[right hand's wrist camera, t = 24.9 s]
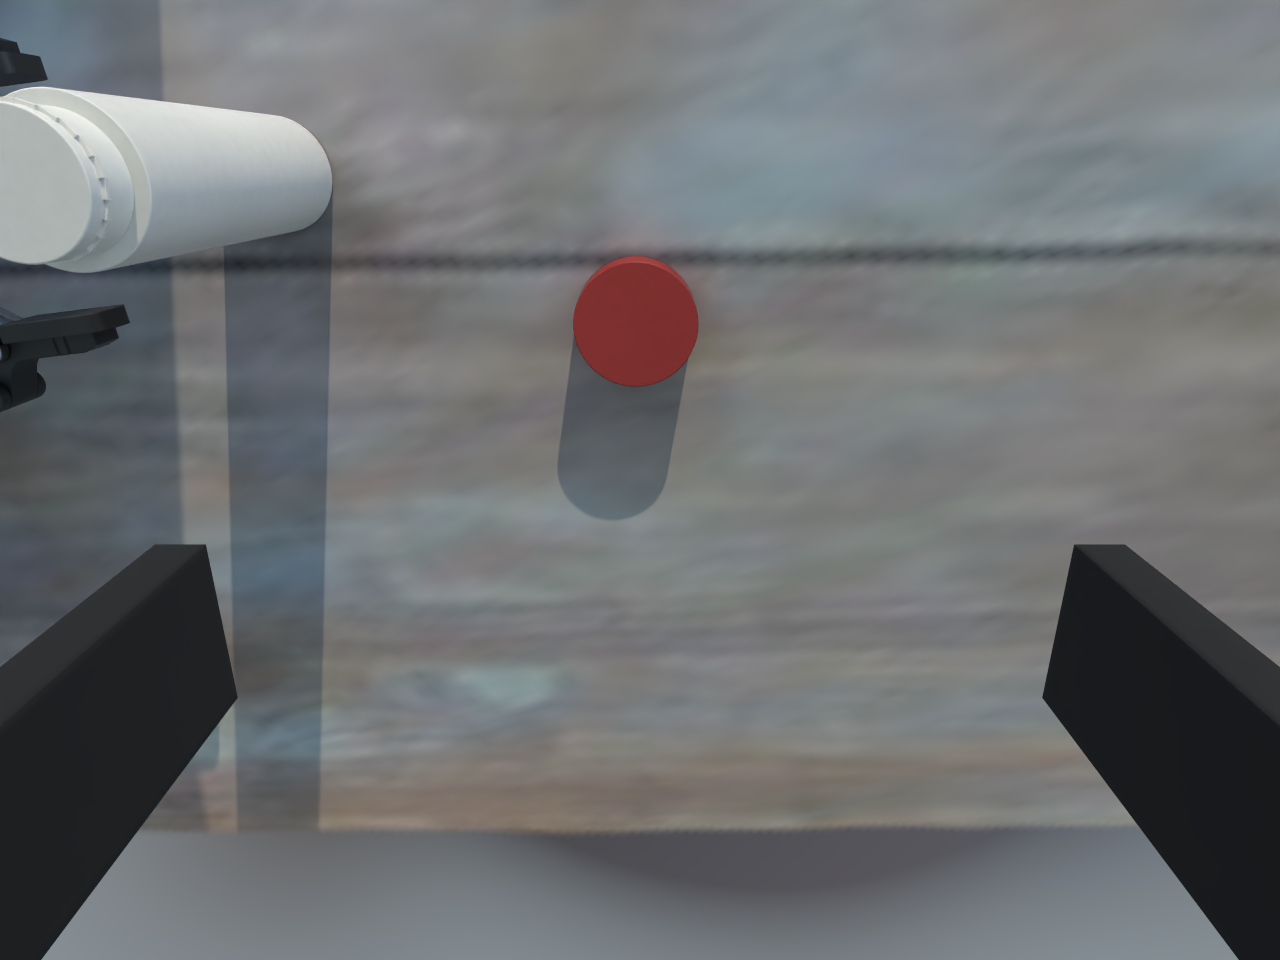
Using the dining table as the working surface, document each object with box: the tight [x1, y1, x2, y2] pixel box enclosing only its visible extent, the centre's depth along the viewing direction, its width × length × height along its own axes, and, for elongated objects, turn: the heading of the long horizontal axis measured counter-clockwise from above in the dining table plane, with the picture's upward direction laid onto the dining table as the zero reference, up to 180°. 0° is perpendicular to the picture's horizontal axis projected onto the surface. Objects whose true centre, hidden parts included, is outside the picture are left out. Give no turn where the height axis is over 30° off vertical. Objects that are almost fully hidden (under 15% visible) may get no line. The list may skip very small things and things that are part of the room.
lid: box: [573, 256, 698, 386], centre depth 37 cm, size 5×5×2 cm
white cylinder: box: [0, 87, 332, 273], centre depth 28 cm, size 5×5×16 cm
